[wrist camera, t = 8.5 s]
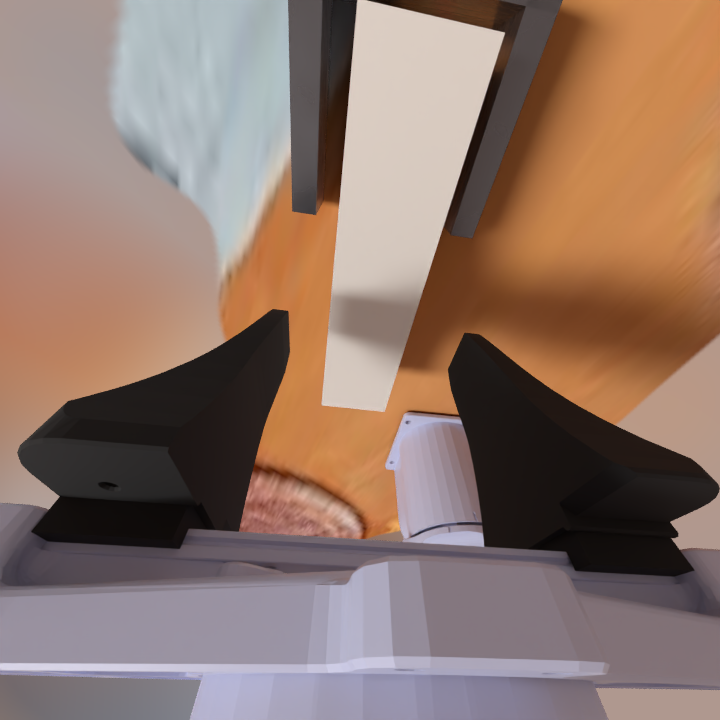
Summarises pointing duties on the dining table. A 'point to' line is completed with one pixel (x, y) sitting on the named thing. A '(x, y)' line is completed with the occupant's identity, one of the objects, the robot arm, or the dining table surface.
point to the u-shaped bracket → (496, 118)
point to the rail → (397, 184)
